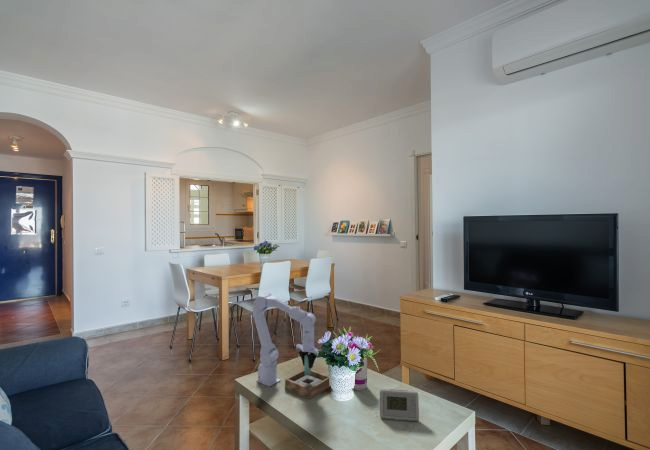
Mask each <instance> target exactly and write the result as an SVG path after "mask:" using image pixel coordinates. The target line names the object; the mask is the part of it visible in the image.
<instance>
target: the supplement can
mask: <svg viewBox="0 0 650 450" xmlns="http://www.w3.org/2000/svg"><path fill="white" fill-rule="evenodd" d="M363 362H364V366H363V367H362V368H360V369H359V370H357V372H356V374H355V386H354V389H355V390H354V389H353V390H354V391H365V389H367V387H368V385H367V384H368V359H367V357H366V358H364V360H363Z"/></svg>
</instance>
